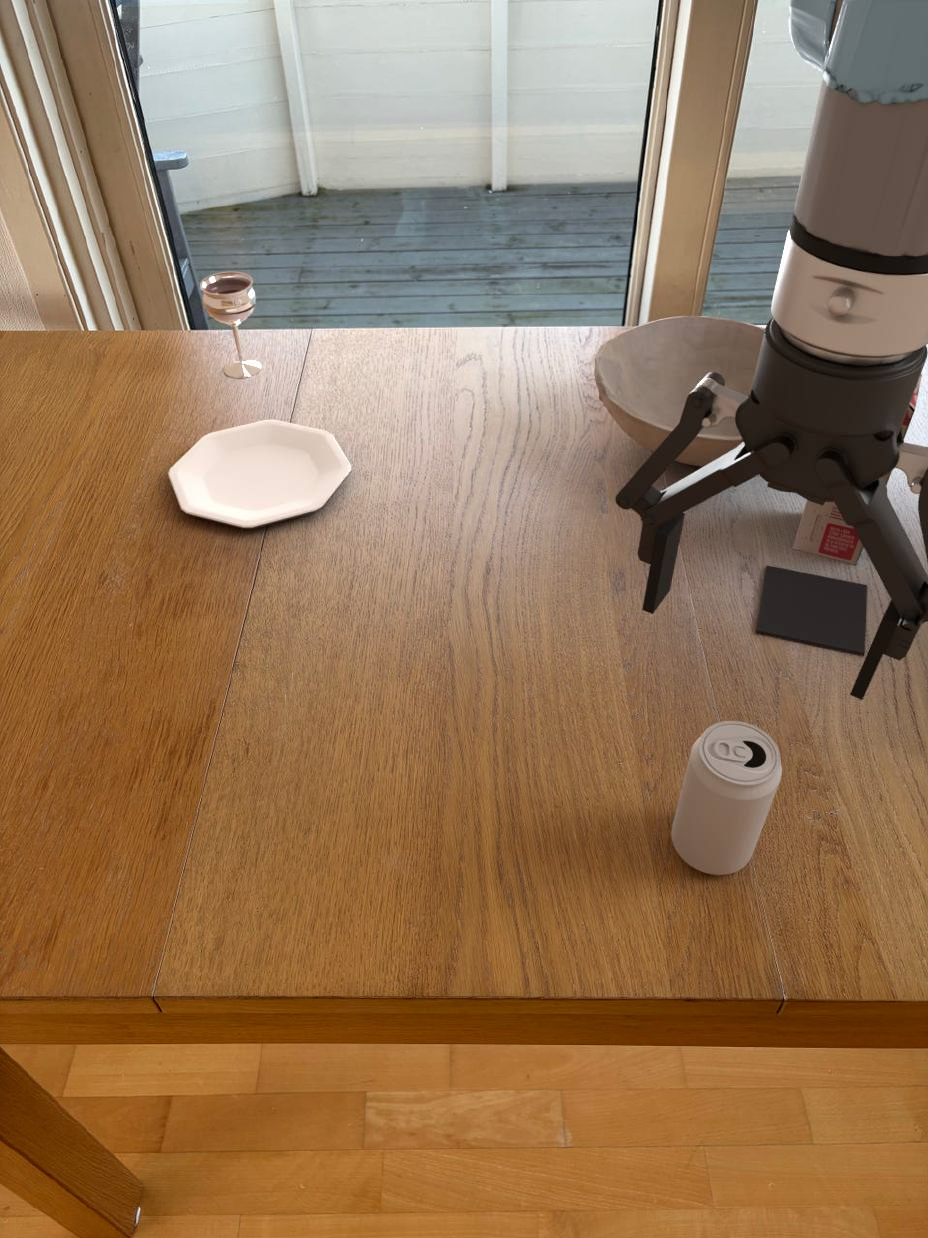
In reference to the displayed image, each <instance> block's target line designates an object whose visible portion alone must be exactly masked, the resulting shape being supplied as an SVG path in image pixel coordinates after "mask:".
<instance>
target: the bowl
mask: <svg viewBox="0 0 928 1238" xmlns="http://www.w3.org/2000/svg"><path fill="white" fill-rule="evenodd" d="M765 328H766V327H762V326H759V325H756V324H753V323H748V322H745V321H739V320H734V319H729V318H724V317H723V318H722V317H716V316H708V315H680V316H672V317H671V316H670V317H665V318H660V319H656V320H652V321H648V322H644V323H642V324H639V325H636V326H634V327H631V328H629V329H625V330H623V331H622V332H620V333H618V334H616V335H614V336H611V337H610V338H609V339H607V340H606V341H605V342H603V344H601V345H600V346H599V348H598V349H597V351H596V353H595V355H594V369H593V370H594V371H593V372H594V379H595V380H594V381H595V385H596V387H597V389H598V398H599V400H600V402H602V404H603V406H604V407H605V408H606V410H607V411H608V413H609V414H610V416H611V417H612V419H613V420H614V421H615V422H616V424H617V425H618V426H619V427H620V428H621V430H622V431H623V432H624V433H625V434H626V435H628V436H629V437H630V438H631V439H632V440H634V441H635V442H636V443H637V444H638V445H640V446H642V447H643V448H646V449H647V450H649V451H651V452H652V453H654V451H655V450H656V449H657V448H658V447H659V446H660V445H661V443H662V442H663V441H664V440H665V439H666V438H667V436H668V435H669V434H670V433H671V432H672V431H673V430H674V428H675V427H676V426H677V425H678V424H679V422H680V419H681V415H682V412H683V409H684V406H685V403H686V400H687V397H688V395H689V394H690V393H691V392H692V391H693V389H694V388H695V387H696V386H697V385H698V384H699V383H700V382H701V380H702V379H703V378H704V377H705V376H706V375H707V374H709V373H711V372H716V373H719V374H720V375H722V377H723V378H724V381H725V387H727V388H729V389H732V390H734V391H736V392H739V393H741V394H744V395H746V396H748V395H749V394H750V392H751V388H752V383H753V379H754V375H755V371H756V366H757V362H758V358H759V354H760V349H761V345H762V341H763V337H764V332H765ZM741 443H743V440H742V437H741V435H740V433H739V431H738V429H737V427H736V423H735V418H731V417H728V418H725V419H723V420H722V421H721V423H720V424H719V425H717V426H715V427H708V428H705V427H704V428H703V429H702V430H701V431H700V432H699V434H698V435H697V436H696V437H695V438H694V440H693V441H692V442H691V443H690V444H689V445H688V446H687V447H686V449H685V450H684V451H683V452H682V453H681V454H680V455H679V456H678V457H677V459H676V460H675V461H674V462H677V463H681V464H683V465H684V464H685V465H689V466H695V467H701V468H702V467H704V466H706V465H708V464H709V463H711V462H713V461H714V460H716V459H718V458H720V457H721V456H723V455H725V454H727V453H728V452H730V451H732V450H733V449H735V448H737V447H738V446H739V445H740V444H741Z"/></svg>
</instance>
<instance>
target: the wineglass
mask: <svg viewBox="0 0 928 1238" xmlns="http://www.w3.org/2000/svg"><path fill="white" fill-rule="evenodd" d="M253 282H254V280H253V277H251V275H249V274H247V273H245V272H240V271H221V272H216V273H213V274H210V275H208V276H206V277H204V278H203V279H202V280H201V281H200V283H199V289H200V290H201V292H203V293H202V295H201V299H202V305H203V307H204V310H205V311H206V313H207V314H208V315H209V316H210V317H211V318H212V319H214V320H216V321H217V322H219V323H221V324H225V325H228V326H229V327H231V331H232V334H233V338H234V342H235V347H236V351H237V355H238V359H237V360H234V361H231V362H229V363H227V364H226V366H225V367H224V369H223V371H224V374H225V375H226V376H228V377H230V378H235V379H245V378H249V377H250V378H251V377H252V376H255V375H256V374H258V373H259V372H260V371H261V369H262V365H261V363H260V362H259V361H257V360H254V359H250V358H243V354H242V353H243V352H242V347H241V340H240V332H239V325H240V324H241V323H243V322H244V321H246V320H247V319H249V317H250V316H251V315H252V314H253V312H254V311H255V309H256V304H257V301H258V299H257V294H256V291H255V289H254V288H253Z"/></svg>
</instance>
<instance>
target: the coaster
mask: <svg viewBox="0 0 928 1238" xmlns="http://www.w3.org/2000/svg"><path fill="white" fill-rule="evenodd" d="M867 607H868V584H864V583H859V582H854V581H849V580H844V579H839V578H835V577H829V576H824V575H818V574H814V573H808V572H802V571H798V570H794V569H793V570H792V569H788V568H783V567H778V566H773V565H768V564H766V566H765V569H764V576H763V584H762V590H761V596H760V603H759V608H758V609H759V610H758V616H757V621H756V629H755V634H759V635H763V636H769V637H773V638H777V639H782V640H787V641H792V642H796V643H801V644H806V645H811V646H815V647H819V648H824V649H825V648H826V649H829V650H834V651H839V652H844V653H848V654H853V655H859V656H865V654H866V637H867V636H866V635H867V634H866V633H867Z"/></svg>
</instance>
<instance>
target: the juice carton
mask: <svg viewBox="0 0 928 1238" xmlns="http://www.w3.org/2000/svg"><path fill="white" fill-rule="evenodd" d="M922 377H923V374H922V373H921V375H920V377H919V380H918V383H917V386H916V388H915V391H914V394H913V396H912V399H911V402H910V404H909V407H908V410H907V413H906V415H905V418H904V421H903V424H902V435H903V439H904V440H905V437H906V435H907V432H908V430H909V427H910V425H911V422H912V419H913V416H914V414H915V411H916V407H917V401H918V397H919V392H920V387H921V382H922ZM892 473H893V470H892V471H891V472H890V473H888V474H886V475H885V476H883V479H884V481H885V483H886V486H887V485H888V483H889V480H890V477H891V475H892ZM791 549H793V550H796V551H800V552H804V553H808V554H812V555H817V556H820V557H824V558H826V559H827V558H828V559H832V560H835V561H840V562H844V563H847V564H850V565H855V566H857V565H858V563H859V560H860V557H861V554H862V552H863V549H864V547H863V545H862V543H861V541H860V539H859V537H858V535H857V533H856V531H855V530H854V528H853V527H852V526H848V525H847V524H846V523H845V521H844V519H843V517H842V515H841V514H840V512H839V510H838V508H837V506H836V504H835V502H825V503H824V505H820V504H817V503H814V502H811V501H808V500H807V499H806V501H805V504H804V507H803V511H802V515H801V518H800V522H799V523H798V527H797V531H796V534H795V538H794V541H793V543H792V547H791Z"/></svg>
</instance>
